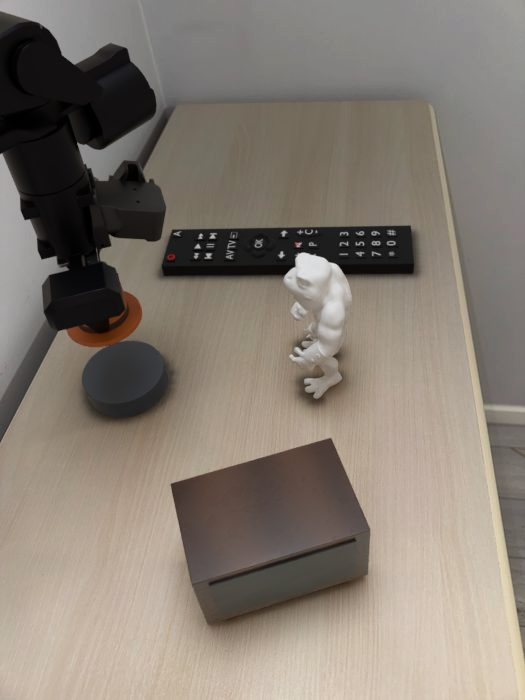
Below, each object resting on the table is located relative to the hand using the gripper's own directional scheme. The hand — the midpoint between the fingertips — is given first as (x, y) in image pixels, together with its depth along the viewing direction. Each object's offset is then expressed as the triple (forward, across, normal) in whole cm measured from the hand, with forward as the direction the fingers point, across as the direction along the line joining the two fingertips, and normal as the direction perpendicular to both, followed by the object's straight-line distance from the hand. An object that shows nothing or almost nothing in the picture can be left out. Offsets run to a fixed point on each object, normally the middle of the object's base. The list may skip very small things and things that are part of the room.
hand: (101, 312), depth 66 cm
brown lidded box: (+12, -24, -10) cm, 29 cm away
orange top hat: (+1, 0, 0) cm, 1 cm away
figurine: (+12, -4, -21) cm, 24 cm away
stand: (+12, 0, 0) cm, 12 cm away
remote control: (+12, +16, -23) cm, 30 cm away
